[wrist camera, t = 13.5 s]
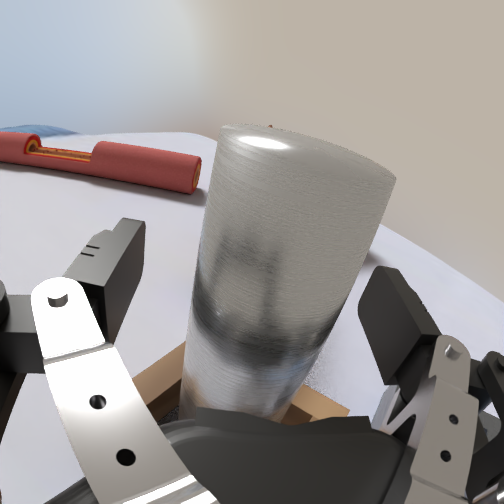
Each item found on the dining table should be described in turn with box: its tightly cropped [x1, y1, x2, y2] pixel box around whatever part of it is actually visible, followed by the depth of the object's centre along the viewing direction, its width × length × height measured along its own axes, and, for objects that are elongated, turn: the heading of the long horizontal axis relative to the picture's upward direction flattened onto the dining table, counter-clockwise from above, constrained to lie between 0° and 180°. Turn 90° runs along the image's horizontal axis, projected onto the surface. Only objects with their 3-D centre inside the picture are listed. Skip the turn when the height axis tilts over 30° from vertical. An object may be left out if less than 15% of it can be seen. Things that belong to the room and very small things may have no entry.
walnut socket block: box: [131, 341, 350, 425], centre depth 13 cm, size 9×9×2 cm
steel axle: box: [178, 124, 396, 423], centre depth 10 cm, size 4×4×14 cm
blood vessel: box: [0, 132, 202, 194], centre depth 39 cm, size 42×5×5 cm, turn 86°
